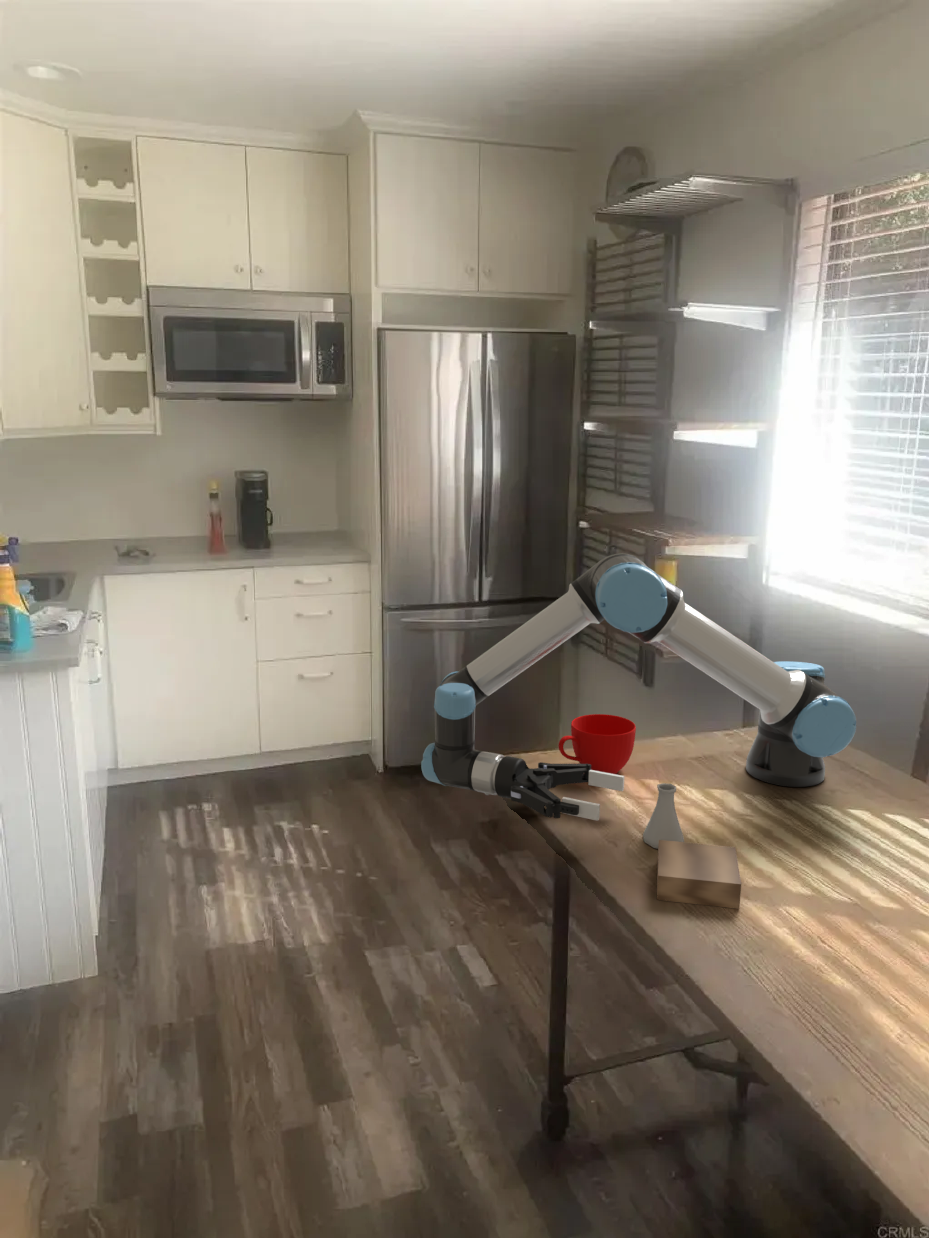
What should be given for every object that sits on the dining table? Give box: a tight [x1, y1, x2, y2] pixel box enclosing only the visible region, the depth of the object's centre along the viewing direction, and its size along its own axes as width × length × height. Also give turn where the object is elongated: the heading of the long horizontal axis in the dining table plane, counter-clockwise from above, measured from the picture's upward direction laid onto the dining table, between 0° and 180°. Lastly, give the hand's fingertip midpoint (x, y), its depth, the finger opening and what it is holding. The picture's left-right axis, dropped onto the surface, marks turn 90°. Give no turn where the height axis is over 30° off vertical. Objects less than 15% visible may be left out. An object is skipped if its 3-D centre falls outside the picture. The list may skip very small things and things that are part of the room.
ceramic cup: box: [558, 713, 637, 775], centre depth 186 cm, size 13×17×10 cm
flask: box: [642, 782, 685, 849], centre depth 156 cm, size 7×7×10 cm
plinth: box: [656, 840, 742, 910], centre depth 143 cm, size 12×12×4 cm
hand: (611, 797), depth 160 cm, fingers open, 13 cm apart
